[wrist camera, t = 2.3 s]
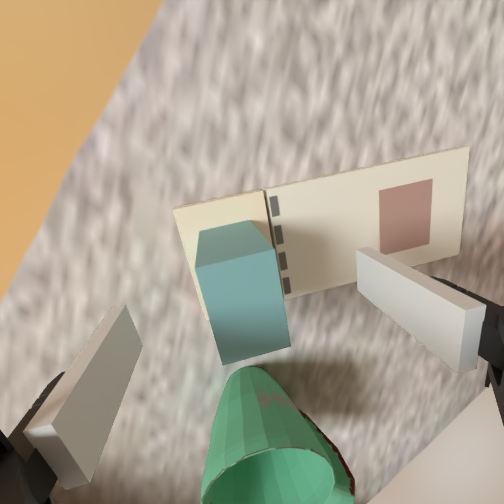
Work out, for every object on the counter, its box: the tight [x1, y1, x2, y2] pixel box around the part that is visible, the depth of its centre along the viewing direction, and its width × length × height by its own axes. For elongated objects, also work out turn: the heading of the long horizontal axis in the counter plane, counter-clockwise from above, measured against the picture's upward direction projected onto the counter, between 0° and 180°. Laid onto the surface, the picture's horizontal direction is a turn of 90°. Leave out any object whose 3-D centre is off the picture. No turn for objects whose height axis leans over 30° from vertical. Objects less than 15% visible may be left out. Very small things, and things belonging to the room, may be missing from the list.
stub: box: [173, 189, 291, 365], centre depth 18 cm, size 7×10×10 cm
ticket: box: [262, 146, 470, 300], centre depth 23 cm, size 18×10×2 cm, turn 101°
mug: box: [200, 366, 355, 504], centre depth 23 cm, size 15×10×10 cm
